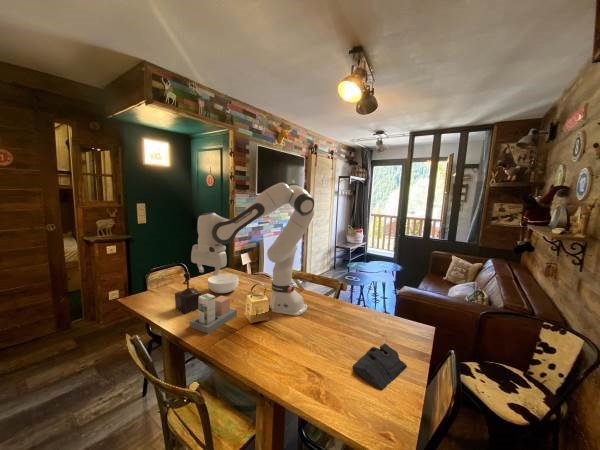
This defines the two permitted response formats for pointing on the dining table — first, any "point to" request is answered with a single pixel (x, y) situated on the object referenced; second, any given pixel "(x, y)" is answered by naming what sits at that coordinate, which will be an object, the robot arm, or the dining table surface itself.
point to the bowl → (223, 283)
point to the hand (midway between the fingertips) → (208, 273)
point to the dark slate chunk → (379, 366)
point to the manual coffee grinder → (187, 297)
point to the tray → (216, 315)
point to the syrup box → (206, 309)
